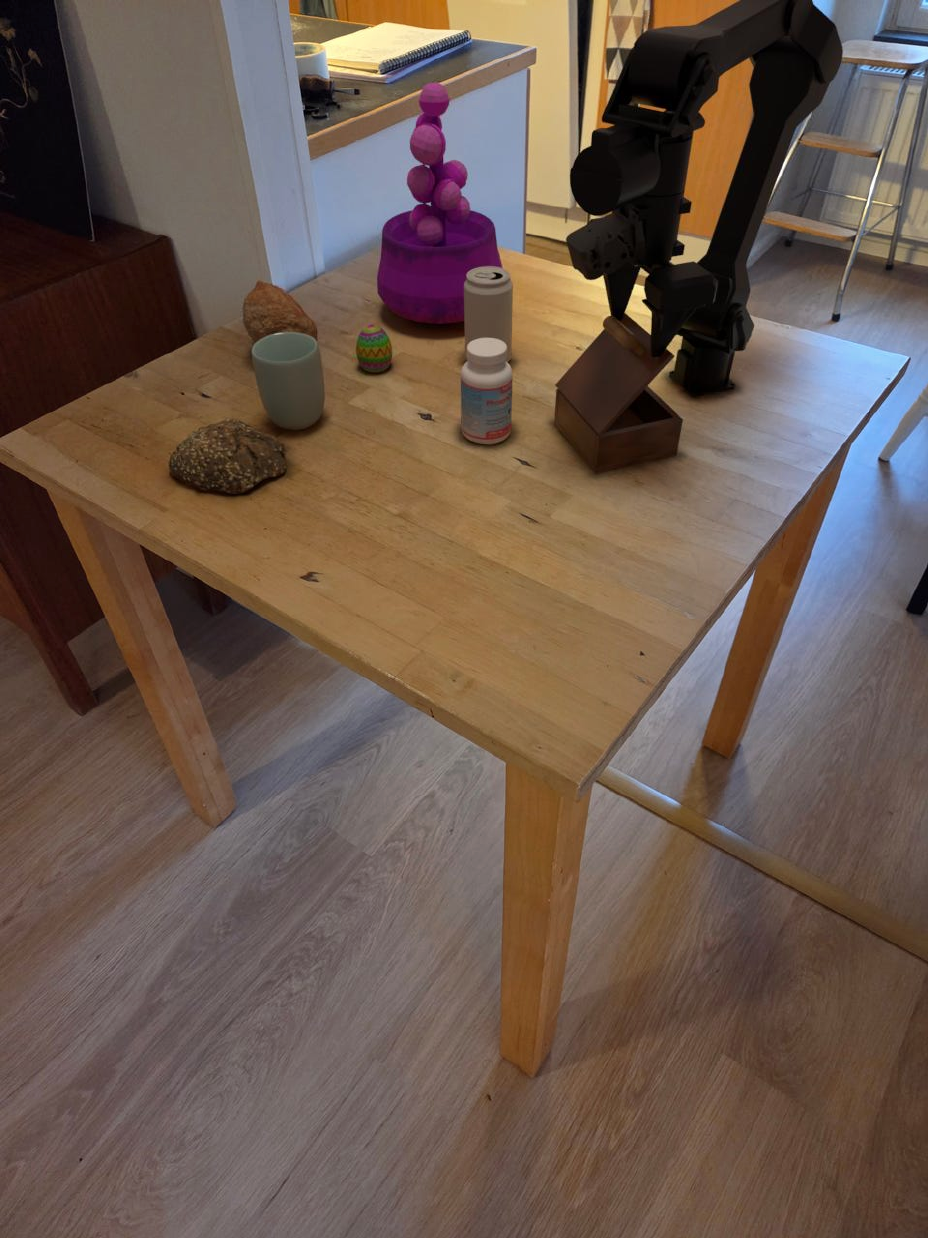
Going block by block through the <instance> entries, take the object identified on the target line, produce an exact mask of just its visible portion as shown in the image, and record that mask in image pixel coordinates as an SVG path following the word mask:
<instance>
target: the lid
mask: <svg viewBox="0 0 928 1238" xmlns="http://www.w3.org/2000/svg"><path fill="white" fill-rule="evenodd" d="M602 328H603V329H602V330H601V332H600V333H599V334H597V337H595V339H594V340H593V341H592V342H591V343H590V345H588V347H587V348H586V349H585V350H584V351H583V353H581V355H580V356H579V357H578V358H577V359H576V360H575V361H574V363H572V365H571V366H570V367H569V368H568V370H567V371H566V372H565V373H564V374H563V375H562V376H561V377H560V379H559V380H558V381H557V382H556V383H555V384H554V386H555V387H556V389H559V390H560V391H561V392H562V393H563V395H564V396H565V397H566V398H567V399H568V400H569V401H570V402H571V404H572V405H573V406H574V407H575V408H576V409H577V410H578V411H579V413H580V414H581V415H582V416H583V417H584V418H585V419H586V420H587V422H588V423H589V424H590V425H591V426H592V427H593V428H594V429H595V431H596V432H597V433H598V434H599V435H601V436H602V435H603V434H604V433H605V431H606V430H607V429H608V428H609V427H610V426H611V425H612V424H613V423H614V422H615V421H616V420H617V418H618V417H619V416H620V415H621V414H622V413H623V412H624V411H625V410H626V409H627V408H628V407H629V405H630V404H631V403H632V402H633V401H634V400H635V399H636V398H637V397H638V396H639V395H640V394H641V392H642V391H643V390H644V389H645V388H646V387H647V386H649V385H650V384H651V383H652V382H653V381H654V380H655V379H656V378H657V376H658V375H659V374H660V373H661V372H662V371H663V370H664V369H665V368H666V367H667V366H668V365H669V363H670V362H671V361H672V360H673V359H674V358H675V354H673V353H672V352H671V351H670V350H669V349H667V348H666V350H665V351H664V352H663V354H662V355H661V356H659V357H652V356H651V347H650V342H651V333H649V332H648V331H647V330H646V329H644V328H643V327H642V326H641V325H640V324H639V323H638V322H637V321H635V320H634V319H633V318H632V317H631V316H629V315H628V314H627V313H626V312H625V313H624V315H623V317H622V319H621V320H620V321H618V320H617V319H616V318H615V317H614V316H611V315H608V316H606V317H605V318H604V319H603V321H602Z"/></svg>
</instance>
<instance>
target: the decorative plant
mask: <svg viewBox="0 0 928 1238" xmlns="http://www.w3.org/2000/svg"><path fill="white" fill-rule="evenodd" d="M450 99H451V98H450V97H449V93H448V91H447V89H446V87H445V86H444V85H442V83H438V82H428V83H427V84H425V85H424V86H423V88H422V90H421V92H420V95H419V98H418V105H419V107H420V109H421V113H420V114H419V115H418V117H417V119H416V121H415V128H413V131H412V133H411V136H410V138H409V149H410V153H411V155H412V156H413V158H414V159H415V160H416V161H417V162H419V163H420V165H416V166H413V167H412V168H410V170H409V171H408V172H407V176H406V185H407V187H408V189H409V191H410V193H411V195H412V197H413V198H414V200H415V201H417V202H418V204H416V205H414V207H413V209H411V210H407V211H404V212H401V213H398V214H396V215H394V216H393V217H390V218H389V219H388V220H387V221H386V222H385V223H384V224H383V226H382V229H381V245H380V246H381V247H380V259H379V264H378V268H377V269H378V270H377V275H376V285H377V286H376V289H377V290H376V291H377V295H378V297H379V298H380V299H381V301H382V302H383V304H384V305H385V306H386V307H387V308H388V309H390V311H391V312H393V313H394V314H395V315H397V316H399V317H401V318H403V319H406V320H410V321H414V322H418V323H425V324H440V325H441V324H452V323H460V322H465V321H464V283H465V281H466V279H467V273H468V272H469V271H470V270H472V269H474V268H478V267H484V266H494V267H500V268H503V264H502V259H501V256H500V252H499V249H498V242H497V241H498V240H497V233H496V226H495V224H494V222H493V220H492V219H491V218H490V217H489V216H487V215H486V214H483V213H481V212H478V211H476V210H471V203H470V202H469V200H468V199H467V197H465V196H464V195H462V194H463V193H462V191H461V190H462V189H463V188H465V187H466V185H467V180H468V169H467V168H466V166H465V164H464V163H463V162H461V161H460V160H457V159H451V160H449V161H446V162H444V155H445V152H446V149H447V148H446V147H447V140H446V137H445V134H444V132H443V131H442V130H443V123H442V120H441V116H443V115H444V114H445V113H446V112H447V110H448V108H449V106H450Z"/></svg>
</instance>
